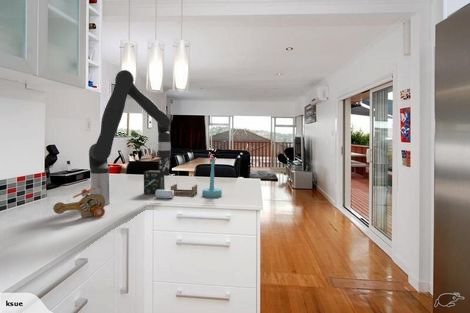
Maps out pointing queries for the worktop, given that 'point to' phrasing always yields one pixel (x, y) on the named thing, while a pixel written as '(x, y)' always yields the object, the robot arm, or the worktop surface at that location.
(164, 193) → the paper roll
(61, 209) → the toy helicopter
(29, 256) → the worktop surface
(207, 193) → the blue towel holder stand
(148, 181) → the tampon box
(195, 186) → the roll cradle
